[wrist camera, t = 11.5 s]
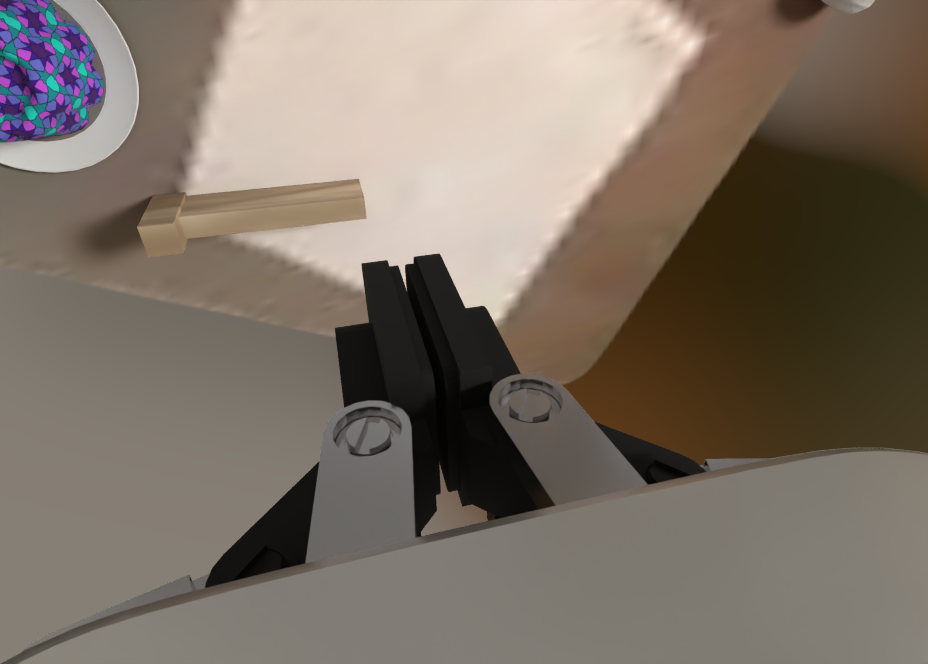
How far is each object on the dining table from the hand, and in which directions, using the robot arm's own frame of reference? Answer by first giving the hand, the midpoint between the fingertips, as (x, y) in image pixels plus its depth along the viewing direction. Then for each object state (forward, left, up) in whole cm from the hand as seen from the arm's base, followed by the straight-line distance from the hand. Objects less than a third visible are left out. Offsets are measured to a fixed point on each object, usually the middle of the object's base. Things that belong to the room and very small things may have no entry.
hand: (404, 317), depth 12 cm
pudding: (-1, -17, -30) cm, 34 cm away
